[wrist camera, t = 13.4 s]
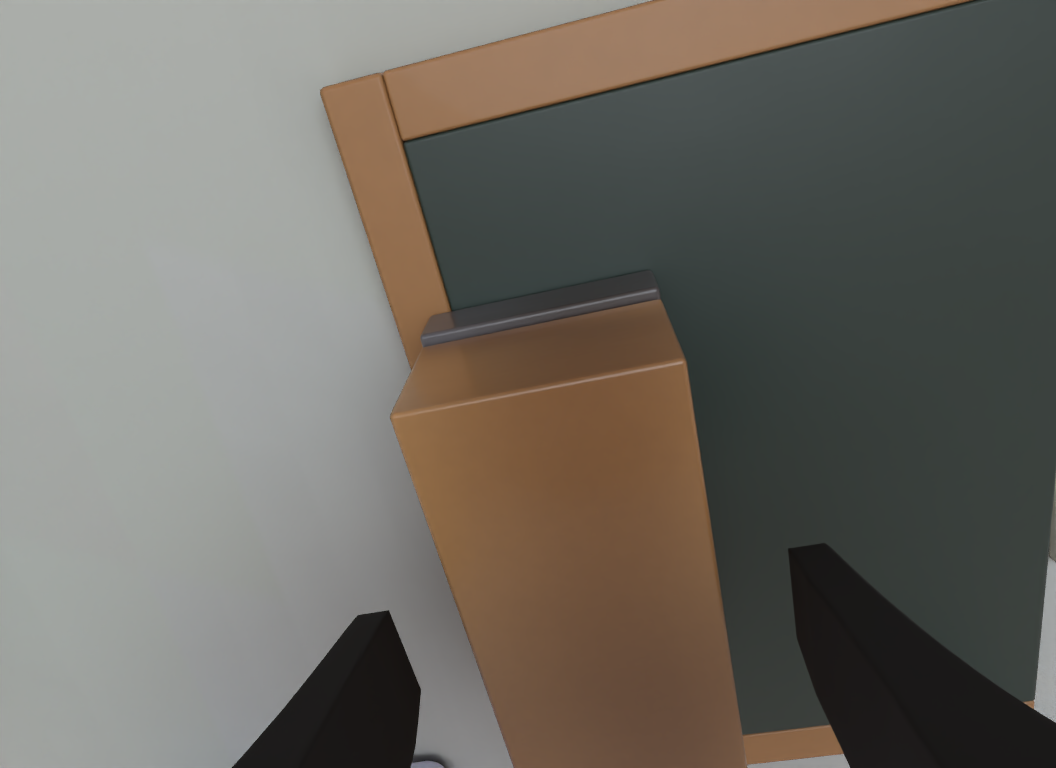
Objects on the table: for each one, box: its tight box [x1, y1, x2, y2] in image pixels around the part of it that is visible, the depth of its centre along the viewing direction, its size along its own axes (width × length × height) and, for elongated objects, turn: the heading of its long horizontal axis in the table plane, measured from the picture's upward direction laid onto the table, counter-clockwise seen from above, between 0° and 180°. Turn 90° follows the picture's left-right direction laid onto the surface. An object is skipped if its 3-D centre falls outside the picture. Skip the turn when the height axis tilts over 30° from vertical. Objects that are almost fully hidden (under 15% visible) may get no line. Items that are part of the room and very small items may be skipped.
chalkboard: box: [320, 0, 1056, 765], centre depth 16 cm, size 13×19×1 cm
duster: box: [390, 270, 747, 768], centre depth 14 cm, size 4×10×4 cm, turn 13°
